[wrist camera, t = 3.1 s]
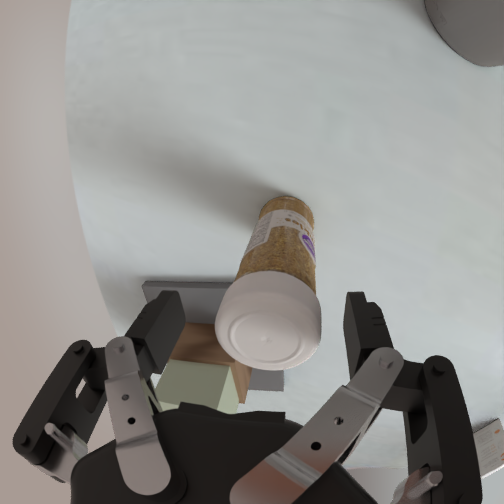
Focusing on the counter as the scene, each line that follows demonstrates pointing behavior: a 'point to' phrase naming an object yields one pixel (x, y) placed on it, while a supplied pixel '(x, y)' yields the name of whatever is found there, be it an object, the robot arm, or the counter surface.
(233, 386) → the sage top block
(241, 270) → the sprinkles bottle
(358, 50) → the counter surface
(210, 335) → the walnut base block
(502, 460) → the small box
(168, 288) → the slate board
